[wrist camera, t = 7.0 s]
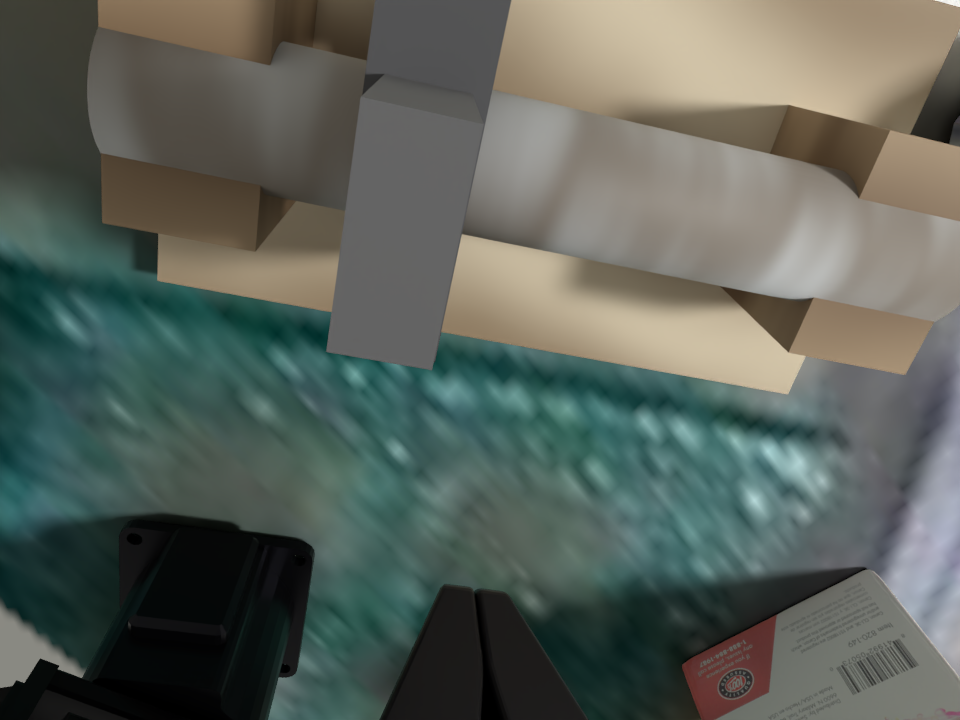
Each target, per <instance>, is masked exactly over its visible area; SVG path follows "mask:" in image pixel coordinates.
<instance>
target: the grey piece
mask: <svg viewBox="0 0 960 720" xmlns="http://www.w3.org/2000/svg"><path fill="white" fill-rule="evenodd" d="M949 144H950V145H954V146H958V147H960V115H959V117H958V118H957V119H956V121H955V122H954V125H953V130H952V134H951V139H950V143H949Z"/></svg>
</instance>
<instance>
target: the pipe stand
mask: <svg viewBox="0 0 960 720" xmlns="http://www.w3.org/2000/svg"><path fill="white" fill-rule="evenodd" d="M374 5H375V0H98V29H97V31H96V34H95V37H94V40H93V44H92V48H91V53H90V59H89V66H88V77H87V102H88V113H89V120H90V125H91V130H92V133H93V137H94V140H95V142H96V145H97V147H98V149H99V151H100V153H101V188H102V223H105V224H110V225H116V226H121V227H126V228H132V229H137V230H142V231H147V232H153V233H158V281H162V282H167V283H173V284H178V285H184V286H189V287H195V288H200V289H206V290H212V291H217V292H223V293H228V294H234V295H239V296H245V297H250V298H256V299H262V300H267V301H273V302H278V303H284V304H289V305H295V306H300V307H306V308H311V309H317V310H323V311H328V312H332V306H333V299H334V291H335V284H336V276H337V269H338V262H339V254H340V247H341V239H342V232H343V224H344V217H345V210H346V202H347V195H348V187H349V180H350V173H351V165H352V158H353V150H354V143H355V136H356V128H357V121H358V113H359V106H360V99H361V96H362V93H363V86H364V78H365V71H366V64H367V56H368V49H369V41H370V34H371V27H372V19H373V12H374ZM959 29H960V7H956V6H953V5H949V4H945V3H942V2H938V1H934V0H511V5H510V9H509V14H508V19H507V24H506V28H505V33H504V38H503V42H502V47H501V52H500V57H499V61H498V66H497V71H496V75H495V80H494V85H493V90H492V94H491V99H490V104H489V108H488V113H487V118H486V123H485V127H484V132H483V137H482V141H481V146H480V151H479V156H478V160H477V165H476V170H475V175H474V179H473V184H472V189H471V193H470V198H469V203H468V208H467V212H466V217H465V222H464V226H463V231H462V236H461V241H460V245H459V250H458V255H457V259H456V264H455V269H454V274H453V278H452V283H451V288H450V292H449V297H448V302H447V307H446V311H445V316H444V321H443V325H442V330H441V332H445V333H450V334H456V335H461V336H467V337H472V338H478V339H484V340H489V341H495V342H500V343H506V344H511V345H517V346H522V347H528V348H533V349H539V350H545V351H550V352H556V353H561V354H567V355H572V356H578V357H583V358H589V359H595V360H600V361H606V362H611V363H617V364H622V365H628V366H633V367H639V368H644V369H650V370H656V371H661V372H667V373H672V374H678V375H683V376H689V377H694V378H700V379H706V380H711V381H717V382H722V383H728V384H733V385H739V386H744V387H750V388H755V389H761V390H767V391H772V392H778V393H783V394H788V393H789V391H790V388H791V386H792V384H793V382H794V380H795V378H796V376H797V374H798V371H799V369H800V367H801V365H802V363H803V361H804V359H805V357H806V356H808V357H813V358H819V359H824V360H829V361H835V362H840V363H845V364H850V365H856V366H861V367H866V368H872V369H877V370H882V371H887V372H893V373H898V374H903V375H905V374H906V372H907V370H908V369H909V367H910V365H911V363H912V361H913V359H914V358H915V356H916V354H917V352H918V350H919V348H920V347H921V345H922V343H923V341H924V339H925V337H926V336H927V334H928V332H929V330H930V328H931V326H932V325H933V323H934V322H935V321H937V320H939V319H941V318H943V317H945V316H946V315H947V314H949V313H950V312H952V311H953V310H954V309H955V308H956V307H957V306H958V305H959V304H960V147H958V146H954V145H950V144H946V143H942V142H938V141H934V140H930V139H926V138H922V137H918V136H914V135H910V133H911V131H912V129H913V127H914V125H915V123H916V121H917V119H918V116H919V114H920V112H921V110H922V108H923V106H924V104H925V102H926V99H927V97H928V95H929V93H930V91H931V89H932V87H933V85H934V82H935V80H936V78H937V76H938V74H939V72H940V70H941V68H942V65H943V63H944V61H945V59H946V57H947V55H948V53H949V51H950V48H951V46H952V44H953V42H954V40H955V38H956V36H957V34H958V31H959Z"/></svg>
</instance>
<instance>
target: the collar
mask: <svg viewBox="0 0 960 720" xmlns="http://www.w3.org/2000/svg"><path fill="white" fill-rule="evenodd" d="M510 5H511V0H375V5H374V12H373V19H372V27H371V34H370V41H369V49H368V56H367V64H366V71H365V78H364V86H363V93H362V96H361V99H360V106H359V113H358V121H357V128H356V136H355V143H354V150H353V158H352V165H351V173H350V180H349V187H348V195H347V202H346V210H345V217H344V224H343V232H342V239H341V247H340V254H339V262H338V269H337V276H336V284H335V291H334V299H333V306H332V313H331V321H330V328H329V336H328V343H327V350H326V352H330V353H336V354H342V355H347V356H353V357H359V358H365V359H371V360H376V361H382V362H388V363H394V364H400V365H405V366H411V367H417V368H423V369H429V370H432V367H433V362H435V358H436V354H437V349H438V344H439V340H440V335H441V330H442V325H443V321H444V316H445V311H446V307H447V302H448V297H449V292H450V288H451V283H452V278H453V274H454V269H455V264H456V259H457V255H458V250H459V245H460V241H461V236H462V231H463V226H464V222H465V217H466V212H467V208H468V203H469V198H470V193H471V189H472V184H473V179H474V175H475V170H476V165H477V160H478V156H479V151H480V146H481V141H482V137H483V132H484V127H485V123H486V118H487V113H488V108H489V104H490V99H491V94H492V90H493V85H494V80H495V75H496V71H497V66H498V61H499V57H500V52H501V47H502V42H503V38H504V33H505V28H506V24H507V19H508V14H509V9H510Z"/></svg>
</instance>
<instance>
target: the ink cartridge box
mask: <svg viewBox="0 0 960 720" xmlns="http://www.w3.org/2000/svg"><path fill="white" fill-rule="evenodd" d="M682 669H683V671H684V674H685V677H686V680H687V683H688V685H689V688H690V691H691V693H692V696H693V699H694V701H695V704H696V707H697V709H698V712H699V714H700V717H701V719H702V720H960V677H959V676H958V674H957V673H956V672H955V671H954V669H953V668H952V667H951V666H950V664H949V663H948V662H947V661H946V659H945V658H944V657H943V656H942V654H941V653H940V652H939V651H938V649H937V648H936V647H935V645H934V644H933V643H932V642H931V640H930V639H929V638H928V637H927V635H926V634H925V633H924V632H923V630H922V629H921V628H920V627H919V625H918V624H917V623H916V622H915V620H914V619H913V618H912V616H911V615H910V614H909V613H908V611H907V610H906V609H905V608H904V606H903V605H902V604H901V603H900V601H899V600H898V599H897V598H896V596H895V595H894V594H893V593H892V591H891V590H890V589H889V588H888V586H887V585H886V584H885V583H884V581H883V580H882V579H881V578H880V577H879V576H878V575H877V574H876V573H875V572H874V571H872V570H869V569H868V570H863V571H861V572H859V573H857V574H855V575H853V576H852V577H850V578H848V579H846V580H844V581H842V582H840V583H838V584H836V585H834V586H832V587H830V588H828V589H826V590H824V591H822V592H820V593H818V594H816V595H814V596H812V597H810V598H808V599H806V600H804V601H802V602H800V603H798V604H796V605H794V606H792V607H790V608H788V609H787V610H785V611H783V612H781V613H779V614H777V615H775V616H773V617H771V618H769V619H767V620H765V621H763V622H761V623H759V624H757V625H755V626H753V627H752V628H750V629H748V630H746V631H744V632H742V633H740V634H738V635H736V636H734V637H732V638H729V639H727V640H726V641H724V642H722V643H720V644H718V645H716V646H714V647H712V648H710V649H708V650H706V651H704V652H702V653H700V654H698V655H696V656H694V657H692V658H691V659H689V660H688V661H687V662H685V663H684V664H683V665H682Z"/></svg>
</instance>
